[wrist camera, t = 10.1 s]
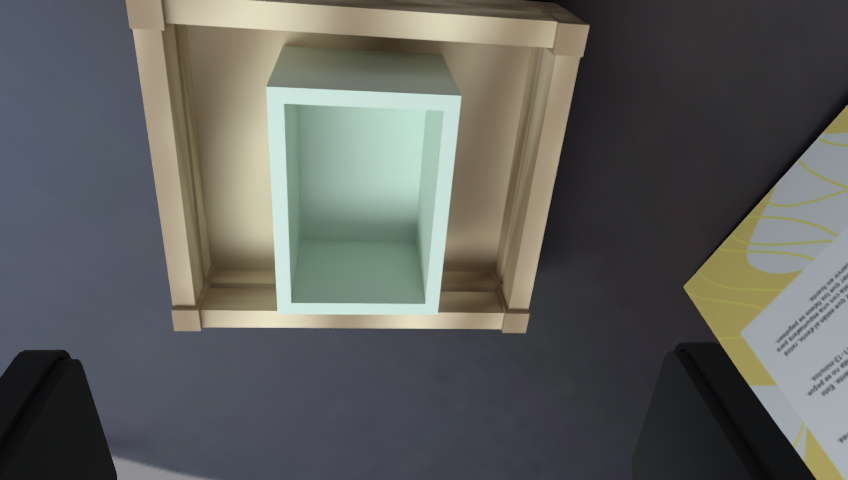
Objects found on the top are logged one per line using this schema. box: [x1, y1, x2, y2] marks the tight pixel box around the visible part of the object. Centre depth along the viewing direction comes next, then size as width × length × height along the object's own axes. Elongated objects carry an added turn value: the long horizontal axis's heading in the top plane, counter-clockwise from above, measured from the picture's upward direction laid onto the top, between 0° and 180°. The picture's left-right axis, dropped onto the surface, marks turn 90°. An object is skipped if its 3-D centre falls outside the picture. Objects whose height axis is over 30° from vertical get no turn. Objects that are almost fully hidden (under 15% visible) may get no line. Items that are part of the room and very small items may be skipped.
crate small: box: [266, 46, 462, 315], centre depth 28 cm, size 7×10×6 cm
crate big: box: [126, 0, 590, 333], centre depth 29 cm, size 17×15×5 cm
